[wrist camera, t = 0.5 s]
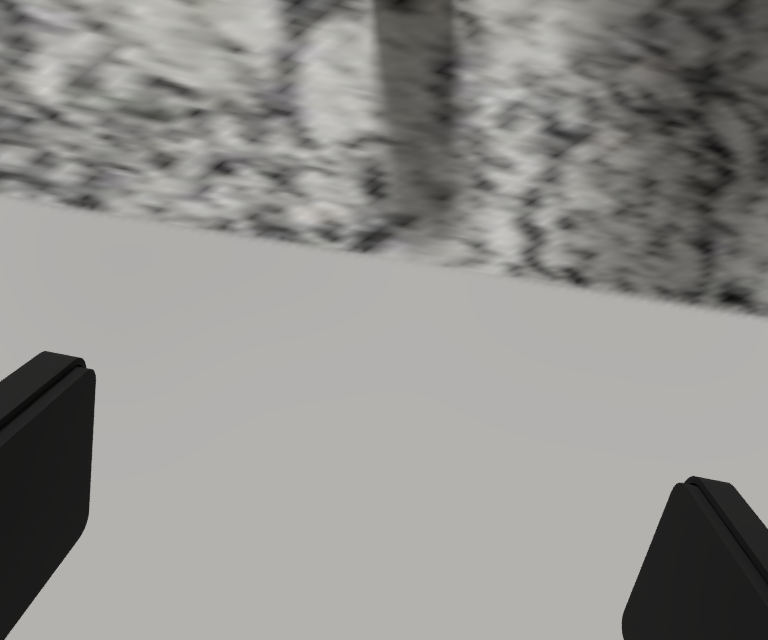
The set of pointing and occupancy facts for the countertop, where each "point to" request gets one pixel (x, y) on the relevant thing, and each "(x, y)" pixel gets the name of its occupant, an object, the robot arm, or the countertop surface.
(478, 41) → the countertop surface
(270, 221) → the countertop surface
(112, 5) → the countertop surface
